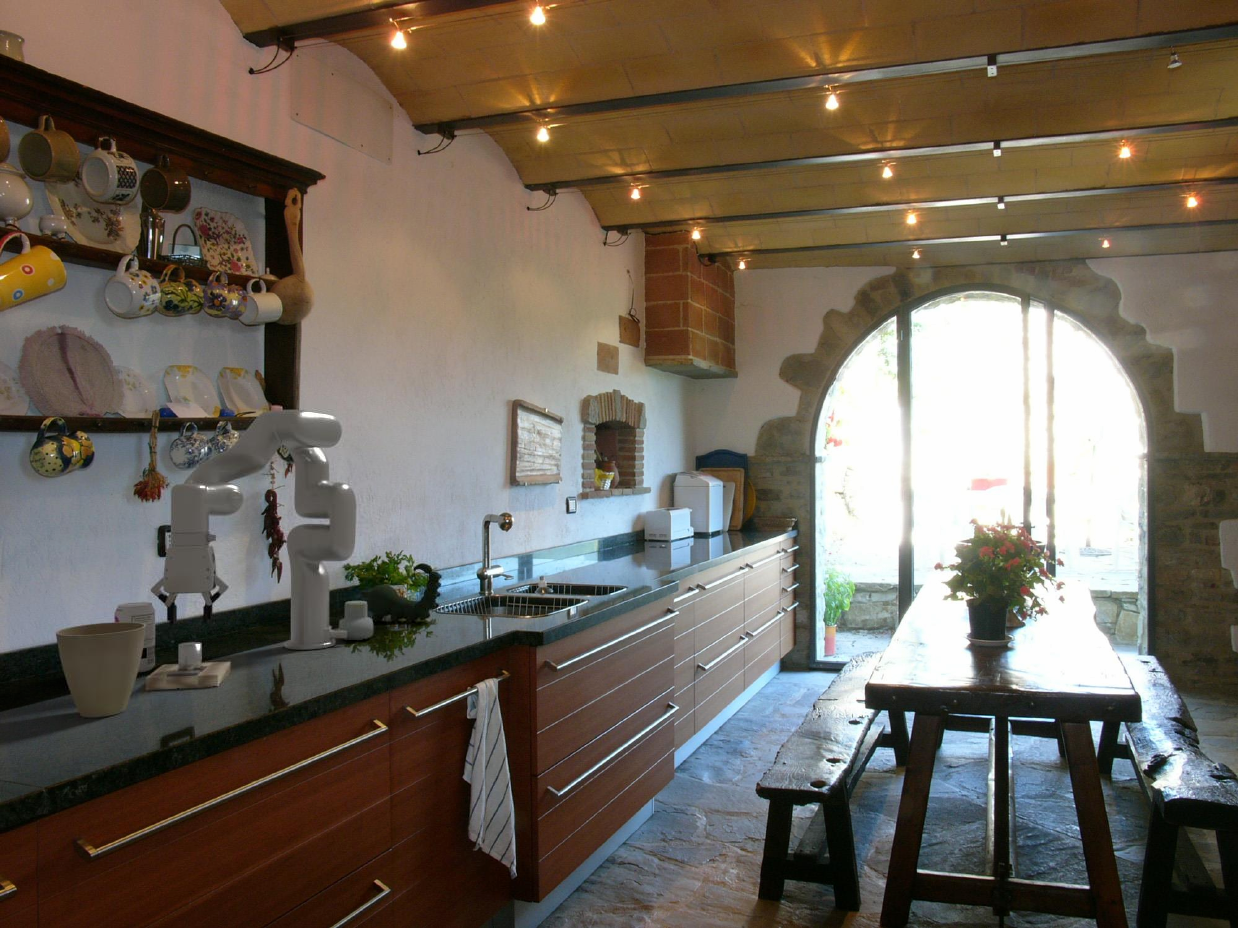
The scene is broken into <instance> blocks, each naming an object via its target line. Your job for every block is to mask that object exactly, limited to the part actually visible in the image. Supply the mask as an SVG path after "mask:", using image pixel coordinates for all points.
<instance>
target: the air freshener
mask: <svg viewBox="0 0 1238 928" xmlns="http://www.w3.org/2000/svg"><path fill="white" fill-rule="evenodd" d="M373 621H374V620H373V619H372V617H368V606H367V600H366V601H365V600H352V601H346V602H345V603H344V618H341V619H339V622H338V630H343V631H345V630H347V638H341V639H343V640H344V641H347V640H357V641H364V640H363V639H365V640H368V639H369V638H371V637H372V636H373V635H374V622H373Z"/></svg>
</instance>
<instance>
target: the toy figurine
mask: <svg viewBox="0 0 1238 928" xmlns="http://www.w3.org/2000/svg"><path fill="white" fill-rule="evenodd" d="M417 570H418V571H419V570H421V571H422V572H424V573H425V574H427V575H428V577H427V578H428V580H427V582H426V583H425V587H426V588H425V589H424V591H423V596H422V597H421V598H420V599H419V600H417V601H416V600H409V599H408V598H406V597H405V596H401V595H400V594H399V593H398V591H397V590H396V589H395V588H394V587H392V586H390V585H387V584H378V585H376V586H374V587H373V588H372V589H371V590H359V591H358V594H359V595H360V596H362V597H363V598H364V599H365V600H366V602H367V609H368V611H369V612H371V613H372V616H371V619H372V621H374V622H376V621H380V622H382V621H383V620H384V617H387V616H390V617H389V618H390V621H392V622H393V623H396V622H398V621H399V620H403V619H404V621H405V623H406V624H411V623H412V622H415V621H418V619H419V620H421V621H425V620H426V619H429V618H430V617H431V613H430V611H431V610H434V611H435V610H437V609H439V607H440V604H439V603H438V602H437V598H440V596H441V592H440V591H438V590H439V588H441V586H442V583H441V582H440V579H442V575H441V574H440V573H439V572H438V571H435V570H433V568H432V566H431V565H430V564H427V563H419V564H416V565H415V566H414V567H413V569H412V571H413V572H416V571H417Z"/></svg>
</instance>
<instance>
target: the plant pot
mask: <svg viewBox="0 0 1238 928" xmlns="http://www.w3.org/2000/svg"><path fill="white" fill-rule="evenodd" d="M145 631H146V624H144V623H137V622H115V621H113V622H99V623H89V624H82V625H76V626H71V627H65V628H62V629H60V630H59V629H58V630H57V631H55V636H56V642H57V648H58V652H59V653H58V654H59V658H60V663H61V666H62V669H63V673H64V677H65V680H66V683H67V686H68V689H69V692H70V694H71V697H72V700H73V703H74V704H75V707H76V708H77V712H78V713H79V715H80V716H81V717H83V718H102V717H110V716H115V715H117V714H121V713H122V712H125V710H126V708H127V705H128V704H129V700H130V698H131V694H132V693H133V688H134V685H135V682H136V679H137V676H138V673H137V672H138V668H139V664H140V660H141V656H142V650H143V645H144V638H145Z"/></svg>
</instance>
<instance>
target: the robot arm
mask: <svg viewBox="0 0 1238 928" xmlns="http://www.w3.org/2000/svg"><path fill="white" fill-rule="evenodd" d="M342 435H343V429H342V425H341V422H340V421H339V419H338V418H337V417H336V416H335V415H332V414H330V413H324V412H314V411H309V410H303V409H274V410H272V409H271V410H267V411H263V412H261V413H260V414H259V415H257V417H256V418H255V419H254V421H252V423H251V424H250V425H249V427H247V429H246V430H245V431H244V432H243V434H242V435H241V436H240V437H239V438H238V440H237V441H236V442H235V444H234V445H232V446H231V447H229V448H227V449H226V450H224V451H222V452H220V453H219V454H216V455H215V456H213V457H211V458H210V459H208V460H206V461H205V462H203V463H201V464H200V465H199V466H197V467H196V468H195V469H194V470H193V471H192V472H191V473H190V474H189V476H188V477H187V478H186V479H185V480H184V482H183V483H178V484H175V485H173V486H172V487H171V489H170V546H169V547H167V549H166V555H165V559H164V568H163V577H162V578H160V579H159V581H157V582H156V583H155V585H153V586H152V587H151V588H150V592H151V593H152V594H153V595H154V596H155V597H157V598H158V600H160V601H161V603H163V604H164V606H165V607H166V620H167V622H169V626H174V625H175V624H177V623H178V622H177V621H178V619H177V618H178V613H177V611H178V610H177V609H178V608H177V604H176V600H177V597H178V594H181V595H182V594H184V595H185V594H201V595H202V598H203V600H204V605H203V607H202V612H203V615H202V616H203V617H202V619H203V621H202V623H203V624H204V625H207V624H210V622H211V621H212V620H213V610H214V609H213V604H214V603H216V601H217V600H218V599H220V597H221V596H222V595H223V594H224V593H225V592H227V591H228V589H229V586H228V584H227V583H225V581H224V580H223V579H221V578H220V577H219V576H218V575H217V563H216V555H215V550H214V546H213V545H210V544H211V542H215V541H216V540H217V534H211V533H210V516H211V517H212V516H213V517H226V516H230V515H234V514H235V513H237V512H238V511H239V510H240V509H242V506H243V504H244V494H243V492H242V490H241V489H240V487H238V486H237V484H234V483H230V482H233V481H235V480H239V479H242V478H246V477H250V476H251V475H255V474H257V473H259V472H260V471H262V470H263V469H265V467H266V466H267V465H268V463H269V462H270V461H271V459H272V458H273V456H275V454H277V453H276V452H277V451H278V450H279V449H280V448H281V447H282V446H284V448H286V449H287V451H288V452H289V454H290V455H291V458H292V460H293V463H294V464H293V465H294V501H293V502H294V510H295V513H296V515H298V516H299V517H301V518H305V519H310V520H311V519H315V520H329V524H327V523H326V524H323V523H304V524H298V525H296V526H294V527H293V528H292V529H291V530H289V532H288V534H287V537H286V550H287V555H288V559H289V567H290V639H289V640H287V641H285V642H284V648H285V649H289V650H297V651H305V650H308V651H309V650H318V649H319V650H321V649H325V648H327V649H328V648H329V647H333V646H335V645H336V639H342V638H347V630H345V631H343V630H339V629H338V630H335V629H332V625H330V576H329V571H328V569H327V567H326V566H325V564H324V562H345V561H347V560H348V559H350V557H352V555H353V553H354V551H355V547H356V531H357V526H356V525H357V498H356V495H355V492H354V489H353V488H352V487H351V486H350V485H349V484H347V483H344V482H337V481H335V482H333V481H331V482H330V464H329V459H328V457H327V454H326V453H325V452H324V449H323V448H326V449H327V448H332V447H334V446H336V445H337V444H338V443H339V441H340V440H341V438H342ZM217 587H218V589H217V591H215V593H214V594H212V591H213V590H215V589H216V588H217ZM162 588H163V590H162ZM163 591H164V592H163ZM167 594H168V595H167Z"/></svg>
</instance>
